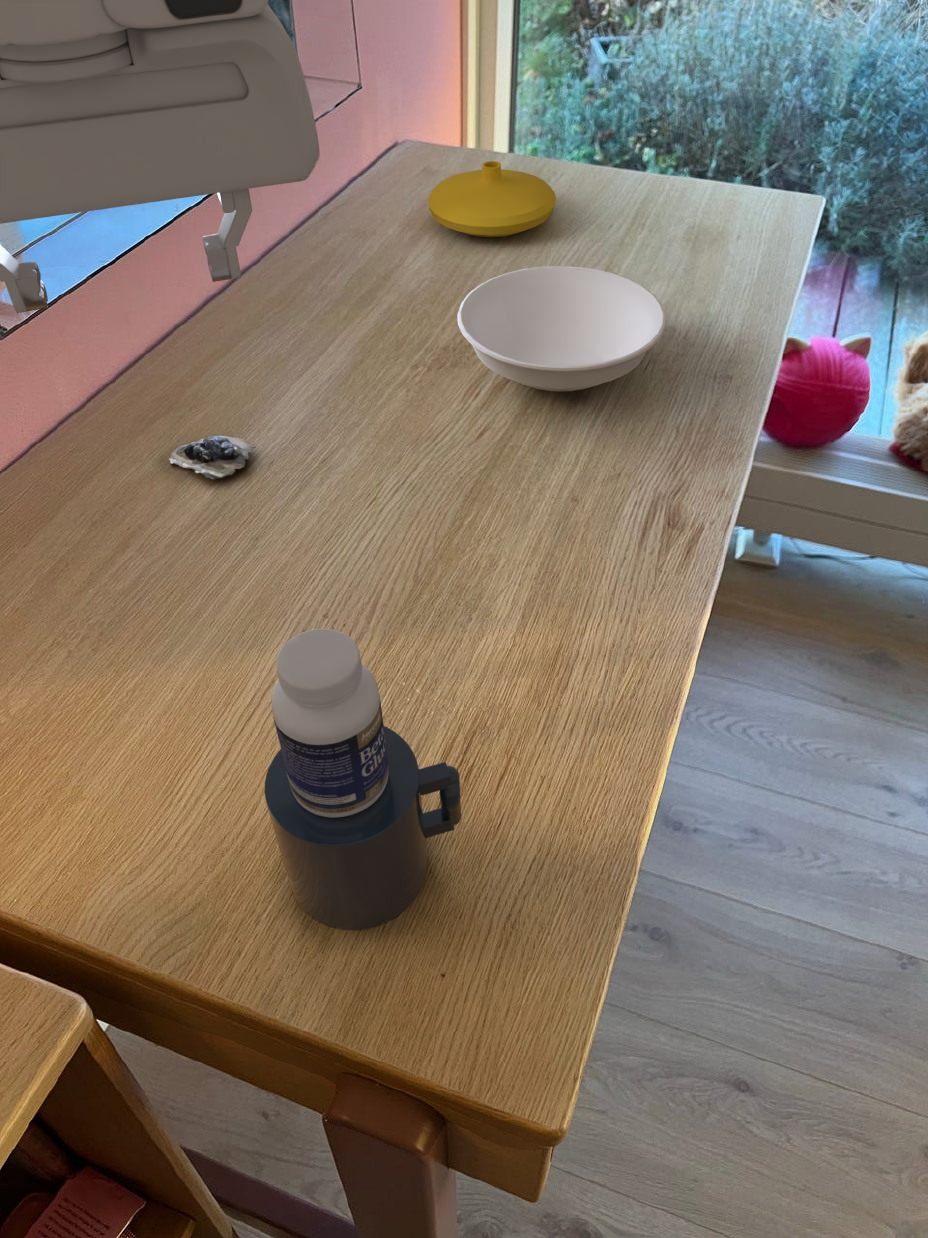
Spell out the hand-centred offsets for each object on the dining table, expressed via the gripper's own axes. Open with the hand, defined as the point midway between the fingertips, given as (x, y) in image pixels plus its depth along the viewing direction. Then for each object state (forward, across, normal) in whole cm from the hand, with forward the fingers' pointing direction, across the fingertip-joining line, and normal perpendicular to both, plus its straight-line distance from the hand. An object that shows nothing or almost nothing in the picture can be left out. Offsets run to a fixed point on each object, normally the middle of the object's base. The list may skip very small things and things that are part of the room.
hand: (130, 290), depth 50 cm
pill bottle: (+21, +5, -17) cm, 28 cm away
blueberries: (+30, +1, +28) cm, 41 cm away
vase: (+30, +41, +67) cm, 84 cm away
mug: (+30, +6, -17) cm, 35 cm away
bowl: (+30, +36, +32) cm, 57 cm away
